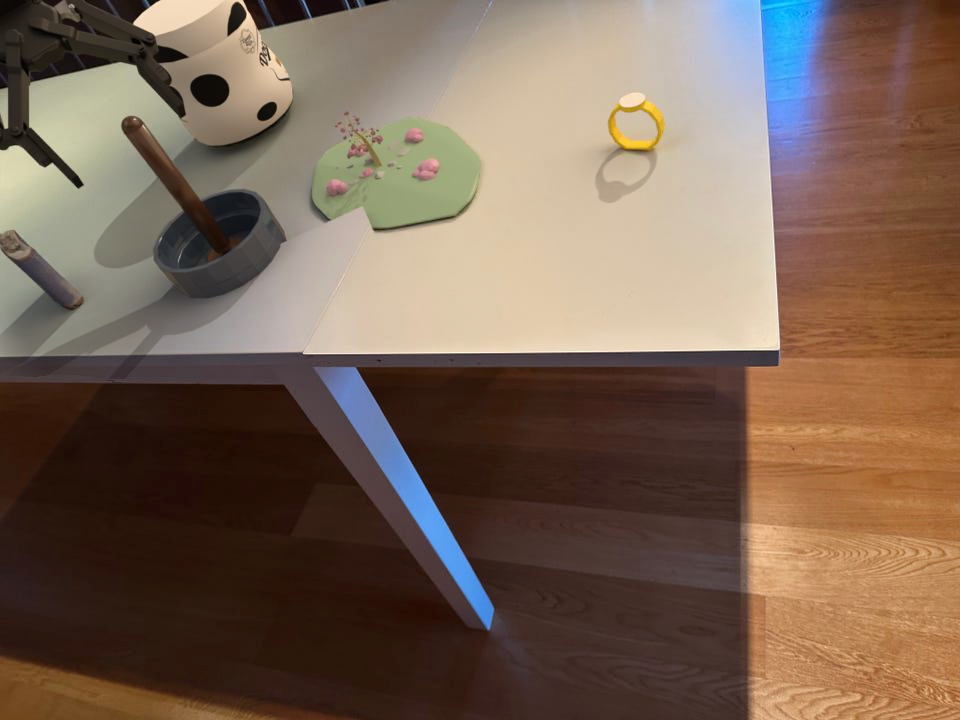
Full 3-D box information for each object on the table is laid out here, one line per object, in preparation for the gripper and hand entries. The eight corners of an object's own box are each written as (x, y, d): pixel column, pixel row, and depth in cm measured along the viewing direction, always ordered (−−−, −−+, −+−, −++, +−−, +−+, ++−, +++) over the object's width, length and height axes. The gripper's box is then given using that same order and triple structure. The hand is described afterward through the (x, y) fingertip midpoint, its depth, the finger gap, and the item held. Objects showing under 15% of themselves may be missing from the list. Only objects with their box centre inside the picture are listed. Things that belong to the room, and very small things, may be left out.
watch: (668, 141, 74) (665, 93, 70) (660, 157, 73) (656, 108, 68) (617, 137, 77) (612, 90, 72) (608, 152, 76) (602, 105, 71)
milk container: (322, 92, 104) (264, -29, 90) (256, 162, 96) (181, 41, 82) (245, 89, 112) (181, -22, 98) (178, 154, 104) (98, 42, 90)
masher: (216, 281, 79) (102, 139, 64) (213, 257, 82) (103, 117, 68) (254, 263, 79) (149, 118, 64) (250, 240, 82) (149, 96, 68)
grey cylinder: (88, 299, 85) (22, 237, 77) (68, 315, 84) (0, 254, 76) (62, 276, 91) (-2, 215, 83) (44, 290, 90) (-23, 230, 82)
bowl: (186, 326, 77) (154, 291, 72) (181, 257, 86) (152, 221, 81) (298, 275, 77) (272, 236, 72) (280, 211, 86) (257, 173, 82)
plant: (525, 134, 82) (508, 66, 75) (436, 248, 73) (408, 182, 67) (374, 118, 95) (348, 57, 88) (282, 213, 86) (245, 154, 79)
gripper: (92, -42, 78) (223, 100, 80) (-111, 73, 70) (41, 226, 72) (75, -91, 71) (220, 65, 73) (-153, 30, 63) (18, 201, 65)
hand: (132, 146), depth 73 cm, fingers open, 13 cm apart
